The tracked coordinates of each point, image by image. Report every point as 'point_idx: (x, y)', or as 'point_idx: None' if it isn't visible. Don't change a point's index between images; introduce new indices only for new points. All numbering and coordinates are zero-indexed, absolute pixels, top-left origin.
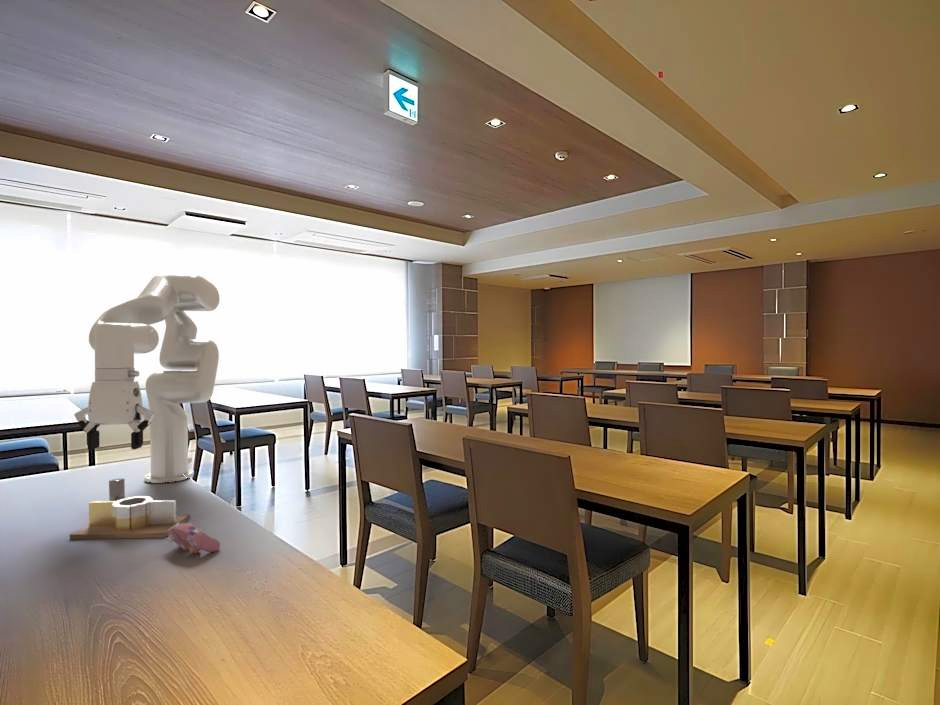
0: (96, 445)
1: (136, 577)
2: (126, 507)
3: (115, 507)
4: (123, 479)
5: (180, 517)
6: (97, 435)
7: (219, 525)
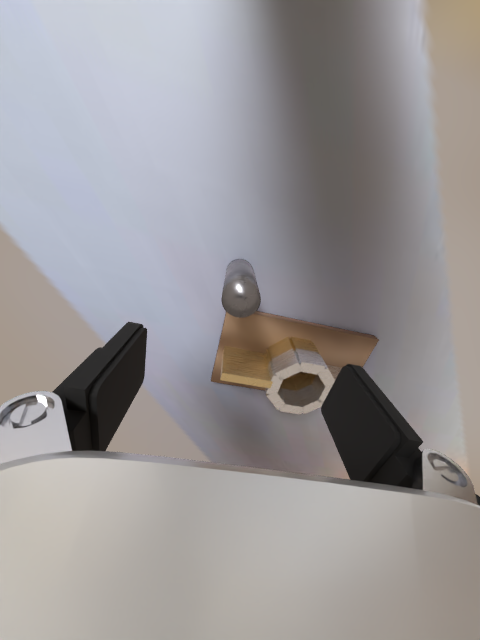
0: (141, 355)
1: (318, 468)
2: (296, 413)
3: (277, 409)
4: (257, 296)
5: (362, 351)
6: (113, 385)
7: (412, 373)
